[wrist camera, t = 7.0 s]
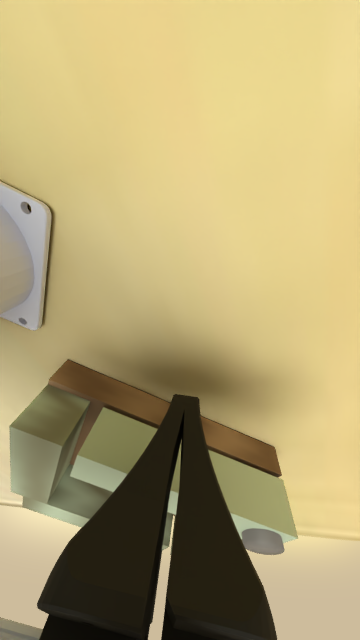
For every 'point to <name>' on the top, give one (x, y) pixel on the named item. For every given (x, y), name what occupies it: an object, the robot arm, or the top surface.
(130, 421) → the hinged leg
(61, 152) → the top surface
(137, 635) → the robot arm
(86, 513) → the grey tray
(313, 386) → the top surface
